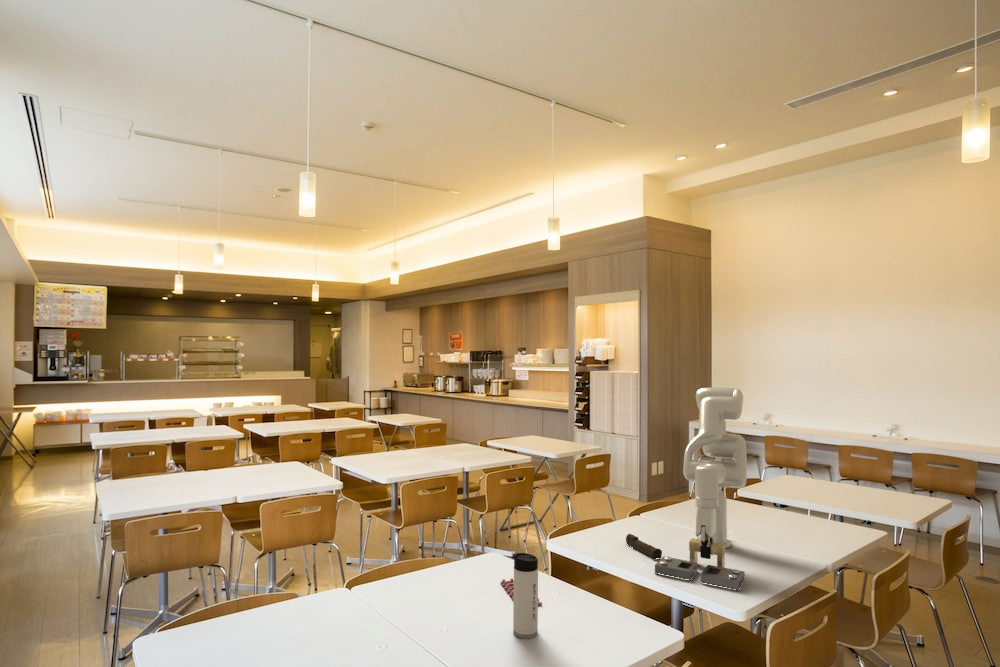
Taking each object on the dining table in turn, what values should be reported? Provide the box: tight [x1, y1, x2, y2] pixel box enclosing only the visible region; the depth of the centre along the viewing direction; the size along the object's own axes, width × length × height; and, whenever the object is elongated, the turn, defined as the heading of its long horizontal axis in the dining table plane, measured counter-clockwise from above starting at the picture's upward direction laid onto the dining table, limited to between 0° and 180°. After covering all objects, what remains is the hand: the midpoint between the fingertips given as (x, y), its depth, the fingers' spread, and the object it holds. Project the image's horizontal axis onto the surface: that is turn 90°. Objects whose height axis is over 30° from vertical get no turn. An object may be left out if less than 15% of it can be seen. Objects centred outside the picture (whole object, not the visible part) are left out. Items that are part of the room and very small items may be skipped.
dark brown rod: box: [625, 533, 663, 559], centre depth 218 cm, size 19×4×5 cm, turn 21°
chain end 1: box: [654, 556, 699, 581], centre depth 196 cm, size 10×11×4 cm
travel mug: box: [512, 552, 539, 640], centre depth 152 cm, size 6×7×20 cm
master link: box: [688, 537, 726, 568], centre depth 202 cm, size 4×11×8 cm, turn 58°
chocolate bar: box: [500, 577, 543, 607], centre depth 177 cm, size 7×19×2 cm, turn 16°
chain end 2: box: [700, 564, 745, 591], centre depth 188 cm, size 10×11×4 cm
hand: (707, 555), depth 202 cm, fingers closed on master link, 4 cm apart
